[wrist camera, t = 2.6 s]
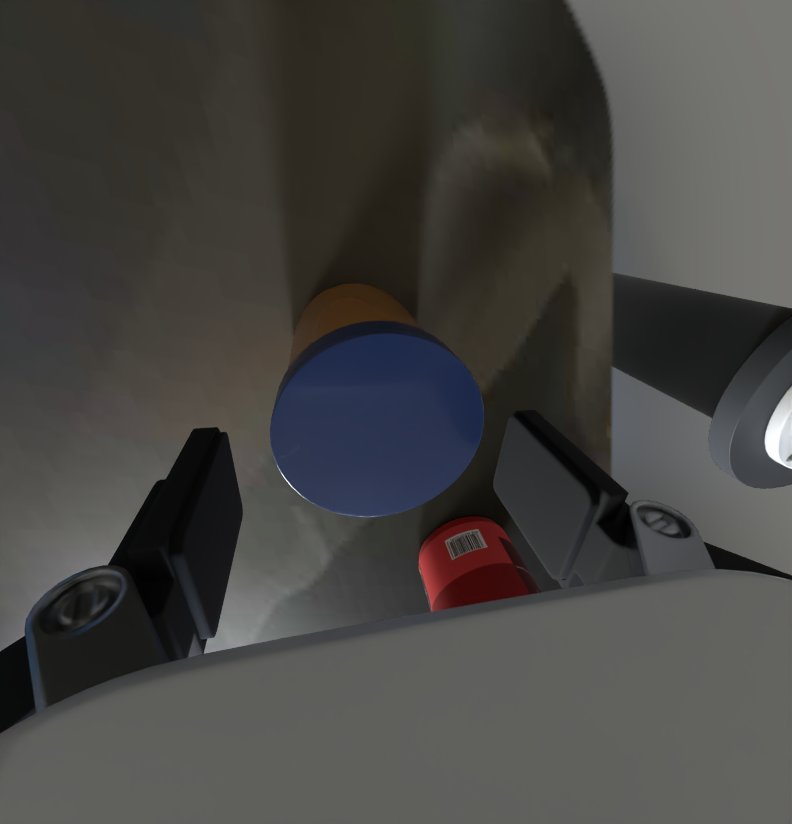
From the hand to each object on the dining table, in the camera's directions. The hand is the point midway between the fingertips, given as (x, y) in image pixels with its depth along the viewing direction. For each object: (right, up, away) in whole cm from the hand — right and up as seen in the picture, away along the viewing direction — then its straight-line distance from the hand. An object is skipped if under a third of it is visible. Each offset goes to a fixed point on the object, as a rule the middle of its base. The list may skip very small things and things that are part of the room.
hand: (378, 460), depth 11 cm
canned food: (+6, -10, +20) cm, 23 cm away
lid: (0, +1, +1) cm, 2 cm away
